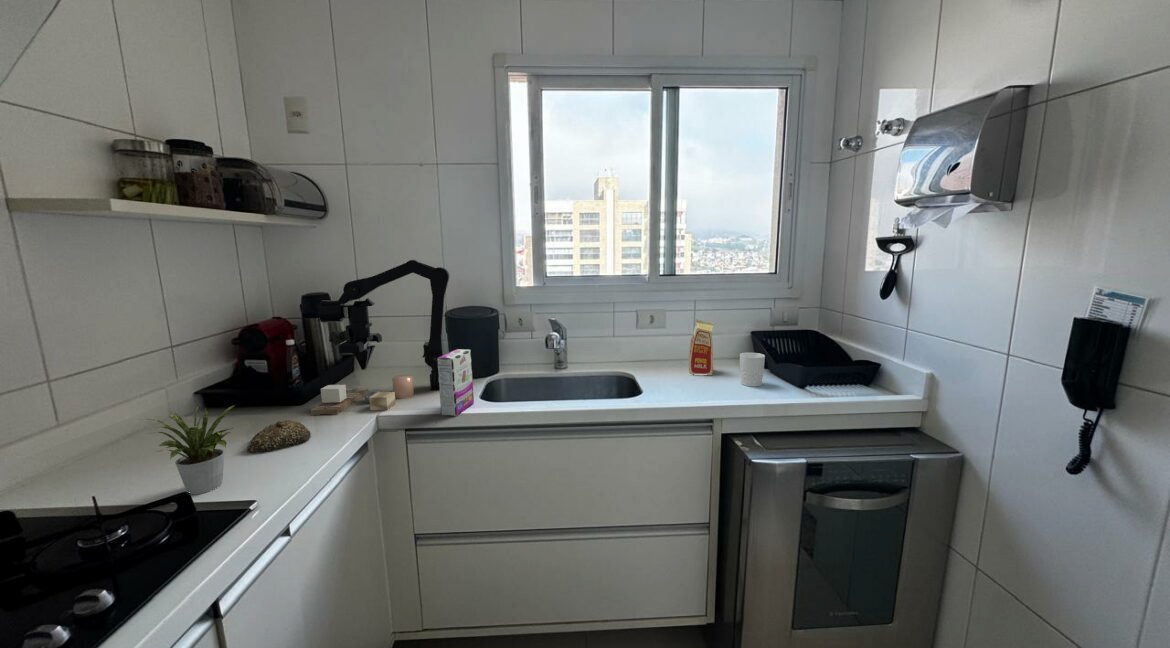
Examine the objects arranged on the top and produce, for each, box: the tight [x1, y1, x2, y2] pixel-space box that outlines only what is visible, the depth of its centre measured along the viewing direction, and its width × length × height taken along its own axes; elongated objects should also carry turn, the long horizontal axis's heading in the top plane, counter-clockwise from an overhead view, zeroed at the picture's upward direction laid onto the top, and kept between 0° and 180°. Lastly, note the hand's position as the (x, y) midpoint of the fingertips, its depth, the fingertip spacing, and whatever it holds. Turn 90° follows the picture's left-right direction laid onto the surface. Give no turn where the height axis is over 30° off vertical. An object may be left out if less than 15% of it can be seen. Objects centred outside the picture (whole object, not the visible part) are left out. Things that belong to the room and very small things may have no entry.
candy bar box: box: [437, 348, 475, 417], centre depth 126 cm, size 11×5×16 cm, turn 168°
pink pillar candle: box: [391, 374, 415, 399], centre depth 140 cm, size 6×6×6 cm
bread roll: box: [246, 419, 312, 454], centre depth 106 cm, size 13×12×5 cm
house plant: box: [137, 403, 236, 495], centre depth 83 cm, size 14×14×16 cm
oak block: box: [369, 391, 397, 411], centre depth 129 cm, size 5×5×4 cm
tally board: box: [310, 387, 369, 416], centre depth 133 cm, size 20×7×2 cm, turn 3°
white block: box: [320, 384, 347, 403], centre depth 129 cm, size 4×5×4 cm
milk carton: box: [688, 318, 716, 376], centre depth 164 cm, size 9×9×20 cm
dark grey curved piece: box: [364, 389, 384, 404], centre depth 135 cm, size 5×5×3 cm
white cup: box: [739, 351, 766, 388], centre depth 149 cm, size 8×8×10 cm
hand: (363, 369), depth 142 cm, fingers closed
